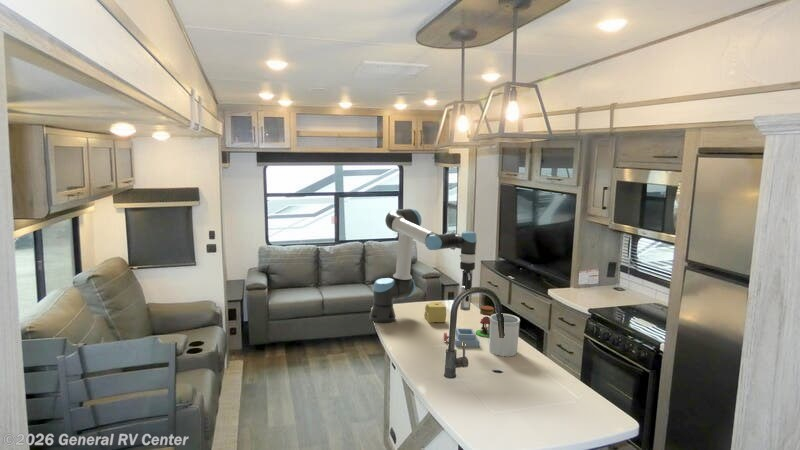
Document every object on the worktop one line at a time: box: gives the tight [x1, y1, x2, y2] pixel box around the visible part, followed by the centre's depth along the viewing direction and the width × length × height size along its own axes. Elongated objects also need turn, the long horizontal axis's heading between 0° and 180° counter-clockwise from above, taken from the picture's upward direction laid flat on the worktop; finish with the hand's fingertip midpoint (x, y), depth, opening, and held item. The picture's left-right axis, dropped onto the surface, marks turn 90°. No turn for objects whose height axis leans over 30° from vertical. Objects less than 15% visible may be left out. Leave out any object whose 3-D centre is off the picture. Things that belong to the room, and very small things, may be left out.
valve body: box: [443, 327, 480, 348], centre depth 258 cm, size 14×17×6 cm
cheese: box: [423, 301, 447, 324], centre depth 290 cm, size 10×11×10 cm
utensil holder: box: [488, 313, 521, 357], centre depth 246 cm, size 15×15×18 cm
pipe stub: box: [459, 285, 472, 311], centre depth 255 cm, size 5×5×12 cm
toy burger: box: [475, 305, 495, 338], centre depth 270 cm, size 12×13×15 cm
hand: (465, 305), depth 256 cm, fingers closed on pipe stub, 5 cm apart
